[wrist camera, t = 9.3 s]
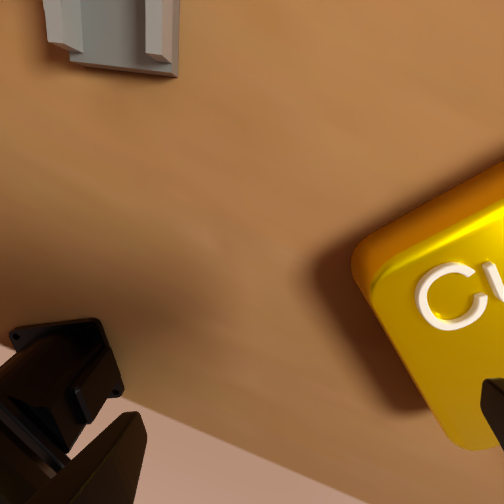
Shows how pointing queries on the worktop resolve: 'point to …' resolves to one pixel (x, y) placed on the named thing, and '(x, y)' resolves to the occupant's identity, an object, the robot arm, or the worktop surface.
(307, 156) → the worktop surface
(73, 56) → the switch base
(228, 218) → the worktop surface
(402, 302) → the element tile
